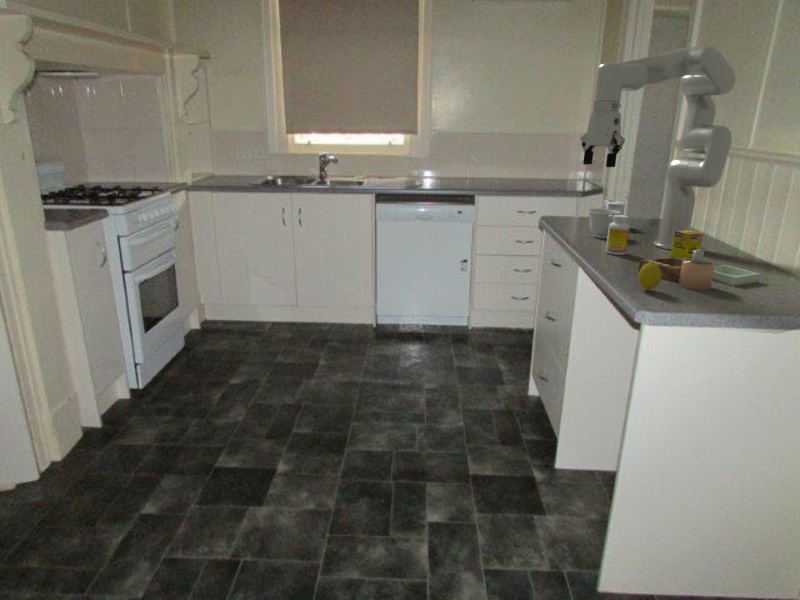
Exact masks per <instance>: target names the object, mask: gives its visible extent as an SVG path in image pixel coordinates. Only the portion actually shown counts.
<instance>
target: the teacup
mask: <svg viewBox="0 0 800 600" xmlns="http://www.w3.org/2000/svg"><path fill="white" fill-rule="evenodd" d="M587 211H588V214H589V230H590V231H591V232H592V233H593V235H592V236H593V237H594V238H598V239H607V237H608V229H609V225H610V223H612V222H613V216H614V215H619V214H620V213H621V212H620V211H616V210H611V209H603V208H590V209H588V210H587Z"/></svg>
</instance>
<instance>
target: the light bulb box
mask: <svg viewBox="0 0 800 600" xmlns="http://www.w3.org/2000/svg"><path fill="white" fill-rule="evenodd" d="M602 205H603V206H602V209H611V210H616V211H620V212H621V213H620V214H619V215H624V213H625V206H626V204H625V203H624V202H622V201H621V200H610V199H609V200H608V199H607V200H604V199H603V204H602Z"/></svg>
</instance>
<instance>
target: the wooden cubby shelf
mask: <svg viewBox="0 0 800 600" xmlns="http://www.w3.org/2000/svg"><path fill="white" fill-rule="evenodd" d="M682 261H683V259H682V258H678V257H674V256H671V255H670V256H662V257H655V258H647V259H641V260H640V261H639V266H638V273H639V272H640V269H641V268H642V266H643V265H645V264H647V263H650V262H654V263H655V264H657V265H658V266H659V267H660V270H661V279H662V278H663V279H662V280H665V279H666V281H669V282H670V281H676V280H678V281H679V277H680V272H681V266H682Z"/></svg>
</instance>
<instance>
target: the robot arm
mask: <svg viewBox="0 0 800 600" xmlns="http://www.w3.org/2000/svg"><path fill="white" fill-rule="evenodd" d="M596 71H597V72H596V81H595V87H594V98H593V104H592V105H593V106H592V112H591V114H590V115H589V116H590V117H589V120H588V124H587V131H586V133H584V134H583V135H582V136H580V140H581V141H580V142H581V147H582V149H583V152H584V153H583V161H582V162H583V163H582V164H583V165H592V164H593V157H594V149H595V147H604V148H605V147H606V148H607V150H608V153H607V154H606V155H607V156H606V163H605V167H606V168H615V167H616V162H617V157H618V156H617V155H618V154H619V153H620V151H621V150H622V149H623V146H624V143H625V142H626V138H625V137H623V136H622V134H621V132H622V114H621V112H619V111H620V109H621V107H622V104H621V96H622V92H629V91H630V92H633V91H638V90H640V89H642V88H645V86H646V85H653V84H662V83H665V82H667V81H671V80H675V79H679V78H680V88H681V91H682V92H683V95H684V96H685V99H686V102H687V109H688V110H687V115H686V119H685V122H684V126H683V129H682V133H681V137H680V142H679V147H680V149H681V151H682V152H685V153H689V154H696V155H705V157H704V158H703V157H701V158H700V157H696V156H695V157H694V156H693V157H692V156H679V157H676V158H674V159H673V160H671V161H670V162H669V164H668V165H667V168H666V195H665V201H664V207H663V214H662V218H661V219H662V220H661V225H660V232H659V235H658V239H657V240H654V241H653V246H655V247H657V248H659V249H666V250H670V251H671V250H672V245H673V239H674V234H675V231H683V230H691V227H692V221H693V220H692V219H693V215H694V210H695V206H696V205H695V204H696V192H695V190H694V187H696V188H703V189H704V188H705V189H710V188H713V187H716V185H717V184H719V182H720V180H721V177H722V176H723V172H724V169H725V166H726V162H727V159H728V156H729V153H730V149H731V146H732V133H731V131H730V129H729V128H728V127H726V126H724V125H720V124H716V125H715V124H714V121H715V118H716V113H717V108H716V104H715V101H714V100H713V98H712V96H723V95H726V94H728V93H730V92H731V91H732V90H733V89H734V86H735V85H736V80H737V79H736V74H735V70H734V69H733V67H732V66H731V64H730V63H729V62H728V60H727V59H726V58H725V57H724V55H723V54H722V53H721V52H720V51H719V50H718V49H717V48H715V47H714V46H712V45H697V46H687V47H681V48H679V49H673V50H671V51H666V52H662V53H660V54H654V55H650V56H645V57H641V58H637V59H633V60H627V61H623V62H620V63H617V62H607V63H606V62H605V63H601V64H600V65H599V66H598V68H597V70H596Z"/></svg>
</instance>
